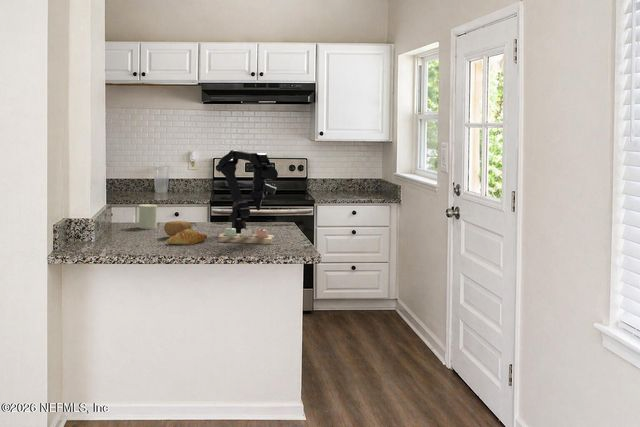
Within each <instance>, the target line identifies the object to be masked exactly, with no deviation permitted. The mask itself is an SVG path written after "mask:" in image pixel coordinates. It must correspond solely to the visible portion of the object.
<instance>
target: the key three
mask: <svg viewBox="0 0 640 427" xmlns="http://www.w3.org/2000/svg"><path fill="white" fill-rule="evenodd" d="M256 235H257V238H267V235H268V230H267V229H264V228H259V229H256Z"/></svg>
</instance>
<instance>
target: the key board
mask: <svg viewBox="0 0 640 427" xmlns="http://www.w3.org/2000/svg"><path fill="white" fill-rule="evenodd" d="M274 237H275V236H274V235H271V234H267V238H257V234H252V237H241V234H238V233H236V237H234V236H225V232H221V233H220V234H219V236H217V242H218V243H221V242H222V243H241V244H259V245H260V244H266V245H267V244H268V245H272V243H273V242H274Z"/></svg>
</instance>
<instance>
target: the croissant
mask: <svg viewBox="0 0 640 427" xmlns="http://www.w3.org/2000/svg"><path fill="white" fill-rule="evenodd" d="M207 237H208V236H207V234H204V233H200V232H199V231H196V230H195V229H192V228H191V229H186V230H184V231H182V232H181V233H177V234H176V235H175V236H169V238H167V239H166V244H168V245H179V246H181V245H196V244H198V243H202V242H203V241H205V240H206V239H207Z"/></svg>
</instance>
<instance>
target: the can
mask: <svg viewBox="0 0 640 427" xmlns="http://www.w3.org/2000/svg"><path fill="white" fill-rule="evenodd" d="M157 219H158V205H157V204H152V203H150V204H139V205H138V228H139V229H142V230H144V229H145V230H154V229H157V228H158V227H157V226H158V225H157V224H158V223H157Z"/></svg>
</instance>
